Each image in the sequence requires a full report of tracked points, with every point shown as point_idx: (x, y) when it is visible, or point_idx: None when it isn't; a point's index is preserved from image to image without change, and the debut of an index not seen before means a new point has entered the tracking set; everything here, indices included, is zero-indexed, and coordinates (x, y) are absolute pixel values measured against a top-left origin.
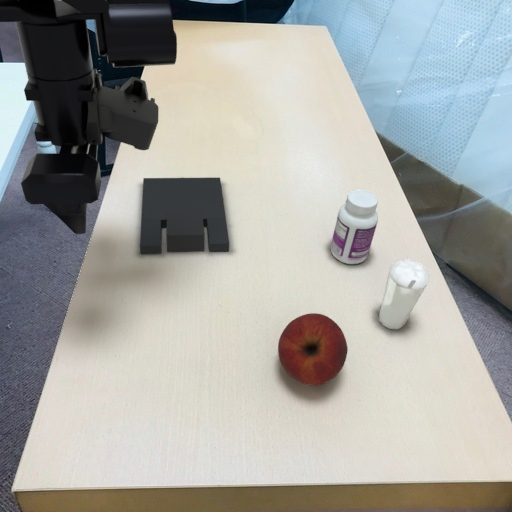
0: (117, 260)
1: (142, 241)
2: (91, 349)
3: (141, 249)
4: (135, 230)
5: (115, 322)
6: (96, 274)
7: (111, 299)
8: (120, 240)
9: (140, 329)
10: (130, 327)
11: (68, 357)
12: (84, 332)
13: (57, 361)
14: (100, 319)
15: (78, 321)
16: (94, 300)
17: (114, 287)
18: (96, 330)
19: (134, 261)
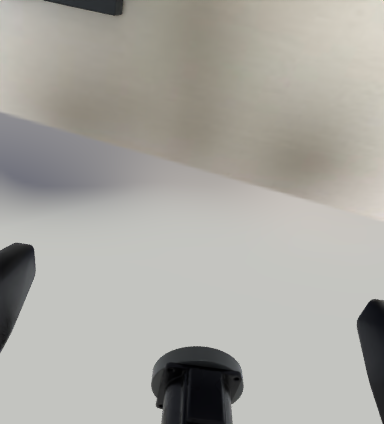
0: (138, 84)
1: (95, 3)
2: (377, 165)
3: (118, 11)
4: (15, 13)
5: (333, 114)
6: (177, 137)
7: (264, 114)
8: (60, 65)
9: (381, 62)
10: (363, 84)
11: (373, 201)
12: (330, 173)
13: (372, 217)
14: (311, 142)
15: (298, 181)
16: (254, 148)
17: (229, 103)
18: (336, 152)
19: (148, 38)
